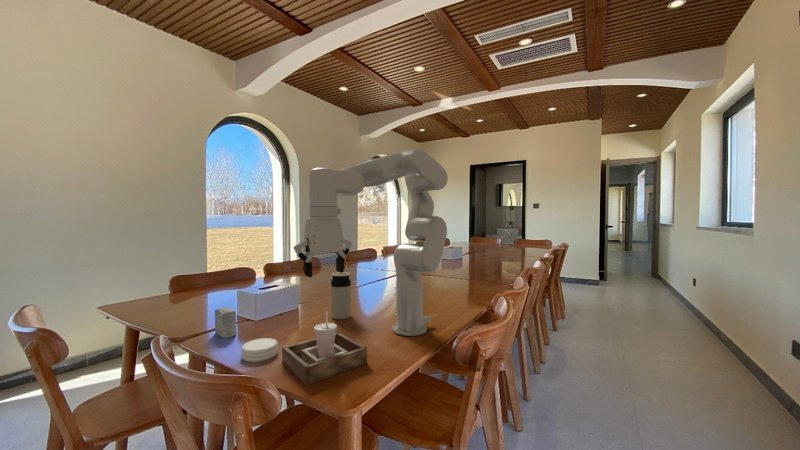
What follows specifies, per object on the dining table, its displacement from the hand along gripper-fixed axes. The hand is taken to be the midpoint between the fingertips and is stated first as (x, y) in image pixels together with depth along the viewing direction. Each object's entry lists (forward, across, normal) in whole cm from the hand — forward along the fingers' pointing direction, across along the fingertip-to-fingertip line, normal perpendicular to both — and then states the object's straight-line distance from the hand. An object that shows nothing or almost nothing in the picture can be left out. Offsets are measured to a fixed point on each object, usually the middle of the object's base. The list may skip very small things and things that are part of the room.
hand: (324, 274), depth 91 cm
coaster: (+26, +13, -18) cm, 34 cm away
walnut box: (+25, +1, 0) cm, 25 cm away
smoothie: (+25, 0, 0) cm, 25 cm away
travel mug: (+26, -24, -34) cm, 49 cm away
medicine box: (+26, +17, -43) cm, 53 cm away
